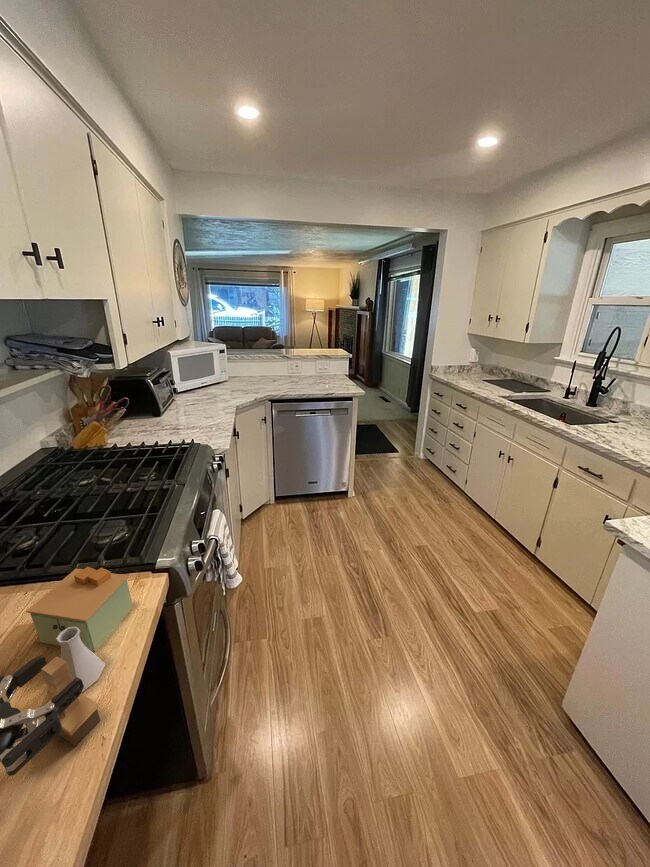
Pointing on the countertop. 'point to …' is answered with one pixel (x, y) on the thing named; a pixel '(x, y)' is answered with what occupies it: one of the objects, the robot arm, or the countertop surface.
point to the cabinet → (82, 609)
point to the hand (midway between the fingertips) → (62, 670)
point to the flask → (79, 657)
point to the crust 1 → (84, 575)
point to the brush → (80, 711)
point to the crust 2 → (99, 576)
